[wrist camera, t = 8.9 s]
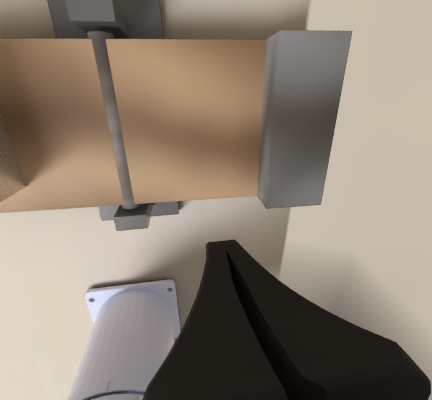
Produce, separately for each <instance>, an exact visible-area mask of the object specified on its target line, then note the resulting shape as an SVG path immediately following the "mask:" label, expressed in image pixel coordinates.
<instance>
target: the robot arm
mask: <svg viewBox="0 0 432 400" xmlns="http://www.w3.org/2000/svg"><path fill="white" fill-rule="evenodd" d="M168 288H172V289H168ZM85 298H86V301H87V304H88V307H89V310H90V313H91V316H92V319H93V322H94V325H93V328H92V331H91V334H90V336H89V339H88V342H87V345H86V348H85V351H84V353H83V356H82V359H81V362H80V365H79V368H78V370H77V373H76V376H75V379H74V382H73V384H72V387H71V390H70V393H69V396H68V399H67V400H428V398H429V396H430V393H431V383H430V380H429V379H428V377H427V376H426V375H425V374H424V372H423V371H422V370H421V369H420V368H419V367H418V366H417V365H416V363H415V362H414V361H413V360H412V359H411V358H410V357H409V356H408V354H407V353H406V352H405V351H404V350H403V349H402V348H401V347H400V346H399V345H398V344H397V343H396V342H393V341H392V340H389V339H387V338H384V337H382V336H380V335H377V334H375V333H373V332H370V331H368V330H365V329H363V328H360V327H358V326H356V325H354V324H352V323H350V322H348V321H346V320H344V319H342V318H340V317H338V316H336V315H334V314H332V313H330V312H328V311H326V310H324V309H322V308H321V307H319V306H317V305H316V304H314V303H312V302H310V301H309V300H307V299H305V298H304V297H302V296H301V295H299V294H297V293H296V292H294V291H293V290H291V289H290V288H289V287H287V286H286V285H284V284H283V283H281V282H280V281H279V280H278V279H276V278H275V277H274V276H273V275H271V274H270V273H269V272H268V271H267V270H266V269H264V268H263V267H262V266H261V265H260V264H259V263H258V262H257V261H256V260H255V259H254V258H252V257H251V256H250V255H249V254H248V253H247V252H246V251H245V250H244V249H243V248H242V247H241V245H240V244H239V243H238V242H237V241H236V240H227V241H217V242H208V243H207V244H206V263H205V268H204V273H203V277H202V280H201V284H200V287H199V290H198V293H197V296H196V299H195V301H194V304H193V306H192V309H191V311H190V313H189V315H188V317H187V320H186V322H185V324H184V326H183V328H182V330H181V332H180V323H179V314H178V306H177V297H176V289H175V282H174V281H173V280H171V279H168V280H160V281H152V282H143V283H135V284H127V285H119V286H111V287H103V288H95V289H89V290H87V291H86V293H85ZM92 298H94V299H92Z"/></svg>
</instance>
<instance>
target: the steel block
mask: <svg viewBox="0 0 432 400" xmlns="http://www.w3.org/2000/svg"><path fill="white" fill-rule="evenodd" d="M25 187H27V185H26V183H25V180H24V177H23V175H22V172H21V169H20V166H19V164H18V161H17V158H16V155H15V153H14V150H13V147H12V145H11V142H10V139H9V136H8V134H7V131H6V128H5V125H4V123H3V120H2V117H1V115H0V202H2V201H3V200H5V199H7V198H8V197H10V196H12V195H14V194H15V193H17V192H19V191H20V190H22V189H24V188H25Z"/></svg>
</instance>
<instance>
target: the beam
mask: <svg viewBox="0 0 432 400" xmlns="http://www.w3.org/2000/svg"><path fill="white" fill-rule="evenodd" d="M87 35H88V39H0V115H1V117H2V120H3V123H4V125H5V128H6V131H7V134H8V136H9V139H10V142H11V145H12V147H13V150H14V153H15V155H16V158H17V161H18V164H19V166H20V169H21V172H22V175H23V177H24V180H25V183H26V185H27V187H25V188H24V189H22V190H20V191H19V192H17V193H15V194H14V195H12V196H10V197H8V198H7V199H5V200H3V201H2V202H0V213H7V212H22V211H37V210H52V209H67V208H82V207H97V206H112V205H122V208H124V209H134V208H137V207H139V206H140V205H141V204H142V203H157V202H172V201H187V200H202V199H217V198H232V197H247V196H258V198H259V199H260V200H261V202H262V203H263V205H264V206H265V207H266V209H269V208H283V207H296V206H309V205H320V204H321V201H322V195H323V189H324V184H325V179H326V173H327V167H328V162H329V157H330V151H331V146H332V140H333V135H334V129H335V124H336V118H337V113H338V107H339V101H340V96H341V90H342V85H343V80H344V74H345V69H346V63H347V57H348V52H349V47H350V41H351V36H352V31H294V30H280V31H278V32H277V33H275V34H274V35H272V36H271V37H269V38H268V39H266V40H259V39H114V37H113V34H112V33H109V32H103V31H90V32H87Z"/></svg>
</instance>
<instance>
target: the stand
mask: <svg viewBox="0 0 432 400" xmlns="http://www.w3.org/2000/svg"><path fill="white" fill-rule="evenodd" d="M47 1H48V5H49V9H50V14H51V18H52V22H53V26H54V30H55V34H56V38H57V39H88V35H87V32H90V31H103V32H109V33H112V34H113V37H114V39H163V35H162V24H161V13H160V3H159V0H47ZM98 207H99V211H100V215H101V220H102V221H104V220H114V222H115V227H116V231H122V230H133V229H144V228H148V226H149V221H150V216H162V215H173V214H179V207H178V201H172V202H157V203H142V204H141V205H140V206H139V207H137V208H134V209H124V208H122V205H112V206H98Z"/></svg>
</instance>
